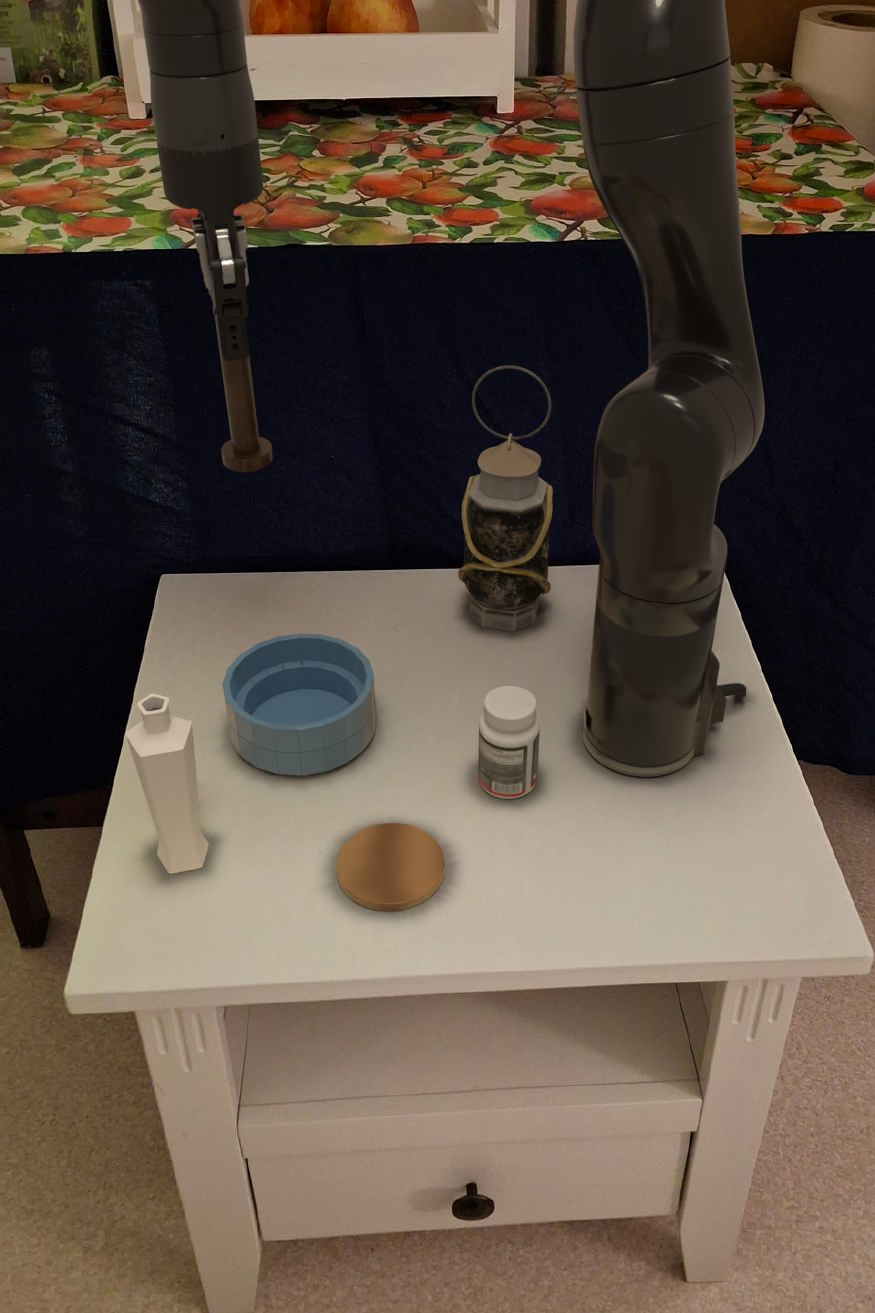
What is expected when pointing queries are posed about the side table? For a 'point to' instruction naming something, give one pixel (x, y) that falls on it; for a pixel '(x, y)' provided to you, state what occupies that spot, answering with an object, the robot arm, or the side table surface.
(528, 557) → the lantern
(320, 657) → the bowl
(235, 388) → the brown wooden peg
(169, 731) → the perfume bottle
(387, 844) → the coaster
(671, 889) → the side table surface
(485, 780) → the pill bottle
